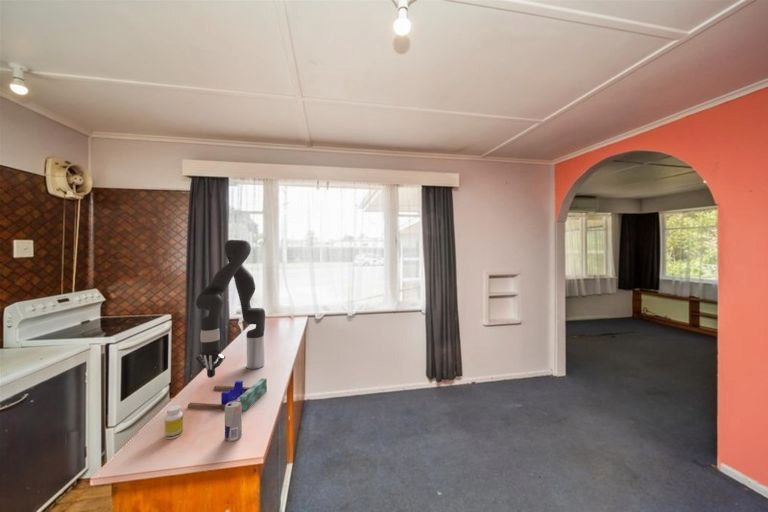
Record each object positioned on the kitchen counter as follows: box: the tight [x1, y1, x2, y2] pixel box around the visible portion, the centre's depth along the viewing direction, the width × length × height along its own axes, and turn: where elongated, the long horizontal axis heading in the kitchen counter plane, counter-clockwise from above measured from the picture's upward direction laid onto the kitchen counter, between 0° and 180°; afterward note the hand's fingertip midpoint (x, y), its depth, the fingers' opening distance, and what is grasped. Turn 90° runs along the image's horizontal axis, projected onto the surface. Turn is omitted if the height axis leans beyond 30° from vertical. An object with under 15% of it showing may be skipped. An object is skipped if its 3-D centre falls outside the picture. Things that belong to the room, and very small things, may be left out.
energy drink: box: [224, 400, 243, 443], centre depth 108 cm, size 5×5×12 cm
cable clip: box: [220, 380, 244, 405], centre depth 135 cm, size 12×4×6 cm, turn 177°
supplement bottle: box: [164, 404, 184, 440], centre depth 109 cm, size 5×5×10 cm
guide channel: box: [187, 378, 268, 412], centre depth 136 cm, size 18×26×6 cm
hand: (211, 376), depth 137 cm, fingers closed
